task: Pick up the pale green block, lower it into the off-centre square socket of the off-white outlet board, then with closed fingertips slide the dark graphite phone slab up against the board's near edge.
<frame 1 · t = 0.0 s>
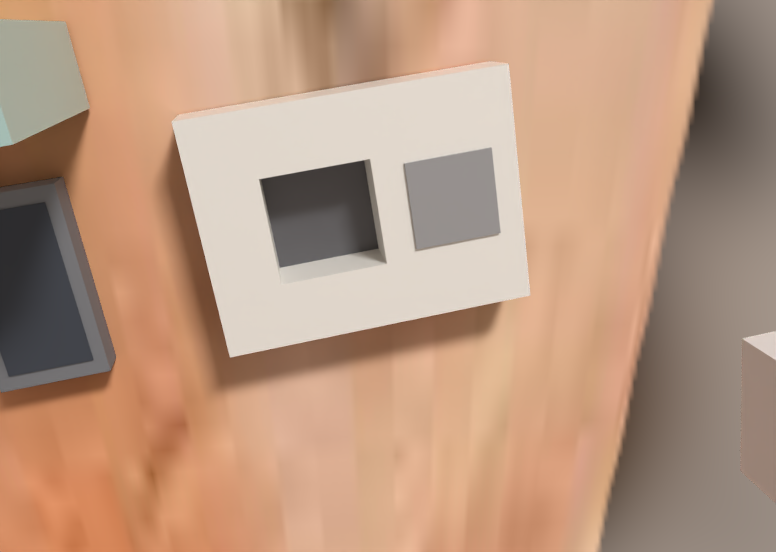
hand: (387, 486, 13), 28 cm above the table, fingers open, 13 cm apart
outlet board: (357, 202, 39), on the table
pale green block: (34, 72, 35), on the table
phone: (37, 279, 39), on the table
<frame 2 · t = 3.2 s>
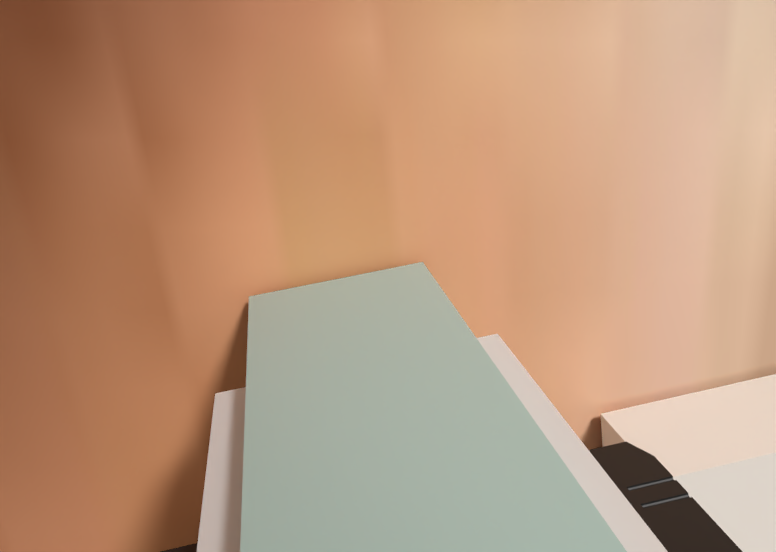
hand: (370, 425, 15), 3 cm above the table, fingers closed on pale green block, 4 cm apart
pale green block: (351, 358, 17), on the table, touching gripper
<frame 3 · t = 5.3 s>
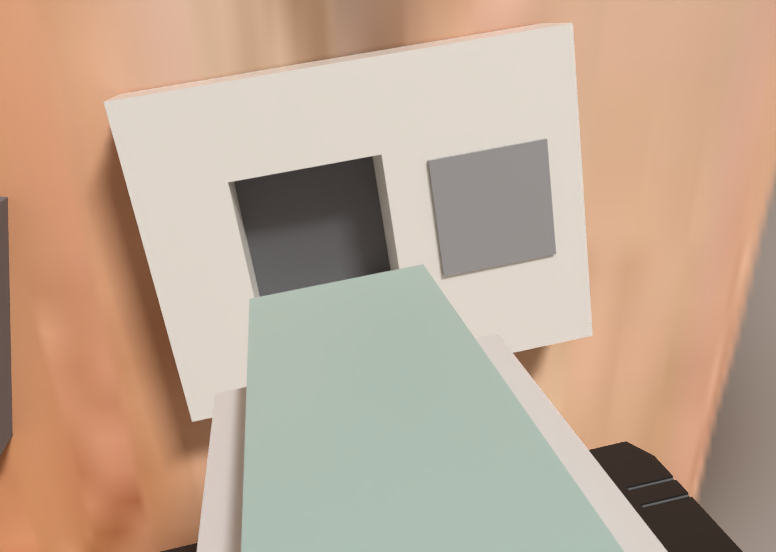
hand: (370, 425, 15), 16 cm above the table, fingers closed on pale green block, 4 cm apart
outlet board: (363, 211, 30), on the table
pale green block: (352, 360, 17), point 13 cm above the table, touching gripper
when the fingers open (5 cm above the table, at t = 7.4 s): pale green block drops 2 cm, resting on outlet board.
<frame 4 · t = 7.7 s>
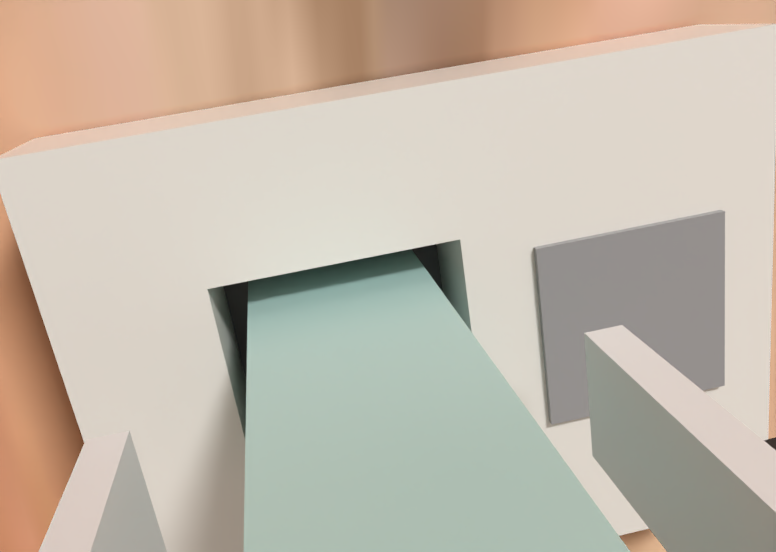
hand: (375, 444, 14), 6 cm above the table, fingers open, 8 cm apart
outlet board: (417, 311, 20), on the table
pale green block: (342, 331, 19), resting on outlet board
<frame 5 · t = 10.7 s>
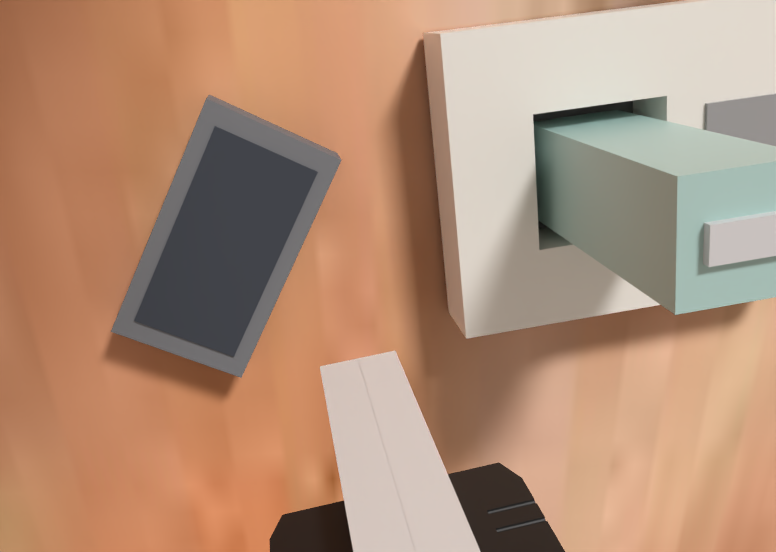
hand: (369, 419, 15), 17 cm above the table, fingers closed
outlet board: (615, 155, 32), on the table
pale green block: (572, 163, 32), resting on outlet board
phone: (227, 233, 31), on the table
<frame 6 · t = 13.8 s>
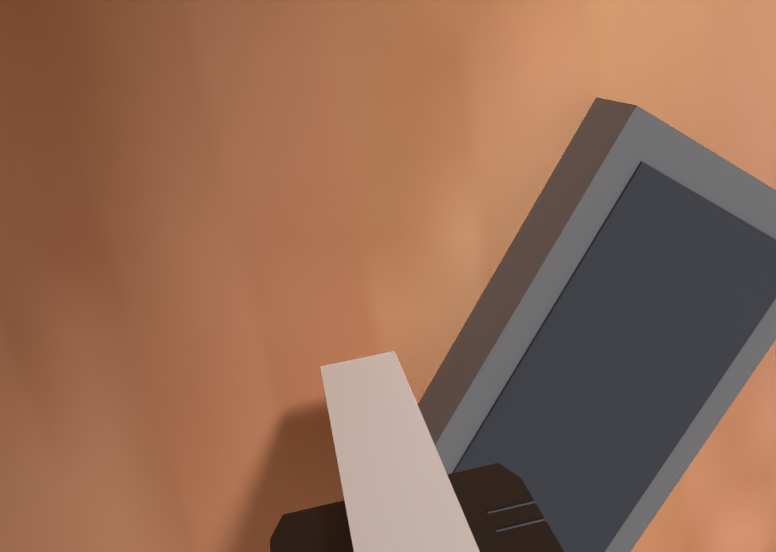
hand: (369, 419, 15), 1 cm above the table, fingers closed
phone: (571, 350, 17), on the table, touching gripper
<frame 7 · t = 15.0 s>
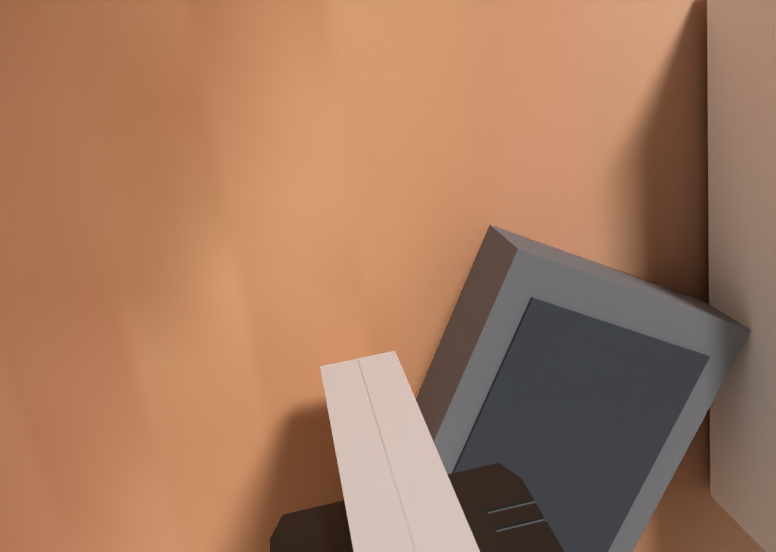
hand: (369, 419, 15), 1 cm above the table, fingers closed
phone: (508, 452, 18), on the table
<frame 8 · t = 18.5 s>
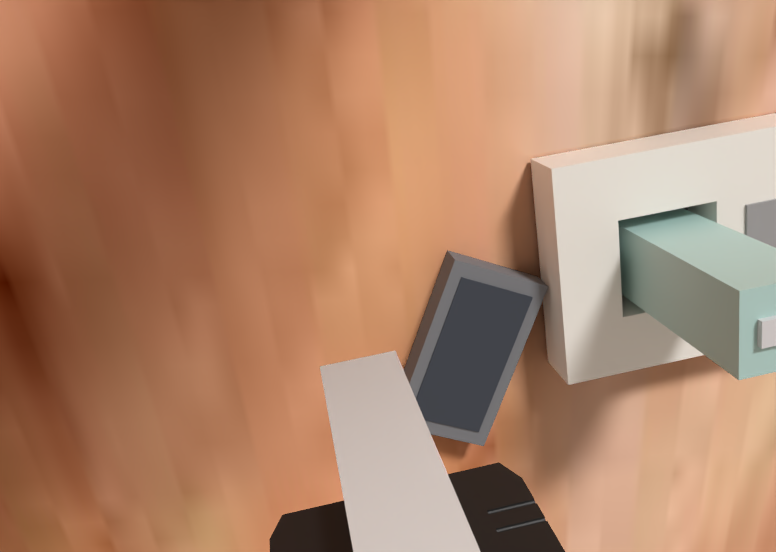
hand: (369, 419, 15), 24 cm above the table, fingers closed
outlet board: (674, 237, 42), on the table
pale green block: (642, 246, 42), resting on outlet board
phone: (460, 342, 42), on the table
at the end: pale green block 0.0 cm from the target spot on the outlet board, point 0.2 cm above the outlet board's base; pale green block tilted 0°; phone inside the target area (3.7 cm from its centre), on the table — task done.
